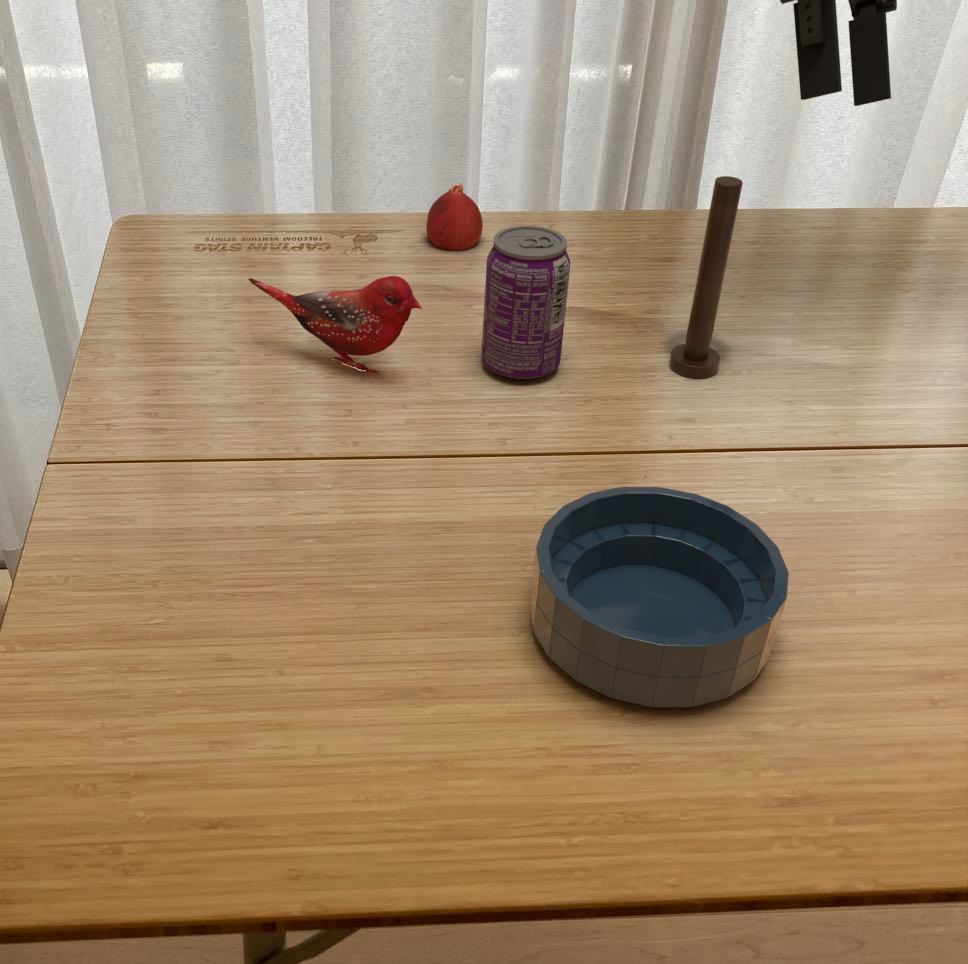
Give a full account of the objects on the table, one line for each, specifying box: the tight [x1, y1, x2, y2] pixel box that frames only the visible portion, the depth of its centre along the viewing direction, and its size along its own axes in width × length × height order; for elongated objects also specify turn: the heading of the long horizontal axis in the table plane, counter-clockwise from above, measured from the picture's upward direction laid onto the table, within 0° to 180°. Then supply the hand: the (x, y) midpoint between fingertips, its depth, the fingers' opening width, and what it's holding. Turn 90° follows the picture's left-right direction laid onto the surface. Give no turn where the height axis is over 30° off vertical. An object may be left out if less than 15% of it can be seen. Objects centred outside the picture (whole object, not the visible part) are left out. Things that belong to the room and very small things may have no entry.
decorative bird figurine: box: [248, 275, 423, 375], centre depth 97 cm, size 3×18×10 cm, turn 62°
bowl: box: [529, 486, 790, 708], centre depth 72 cm, size 16×16×6 cm
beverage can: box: [480, 225, 571, 380], centre depth 97 cm, size 7×7×12 cm
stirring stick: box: [668, 175, 744, 379], centre depth 96 cm, size 4×4×17 cm
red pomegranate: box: [426, 182, 484, 251], centre depth 115 cm, size 6×6×8 cm
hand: (848, 99), depth 85 cm, fingers open, 13 cm apart
